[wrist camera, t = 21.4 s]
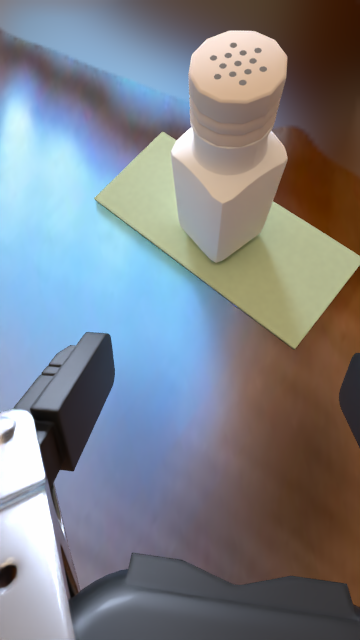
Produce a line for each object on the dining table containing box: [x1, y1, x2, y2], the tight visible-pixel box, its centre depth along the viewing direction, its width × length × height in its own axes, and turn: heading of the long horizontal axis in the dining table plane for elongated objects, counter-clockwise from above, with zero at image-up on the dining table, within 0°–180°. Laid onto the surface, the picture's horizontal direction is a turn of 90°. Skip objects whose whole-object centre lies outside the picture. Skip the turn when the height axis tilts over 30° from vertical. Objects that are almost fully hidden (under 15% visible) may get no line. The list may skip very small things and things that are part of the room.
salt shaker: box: [171, 31, 287, 263], centre depth 14 cm, size 4×4×10 cm
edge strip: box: [94, 132, 360, 349], centre depth 19 cm, size 16×7×1 cm, turn 49°
